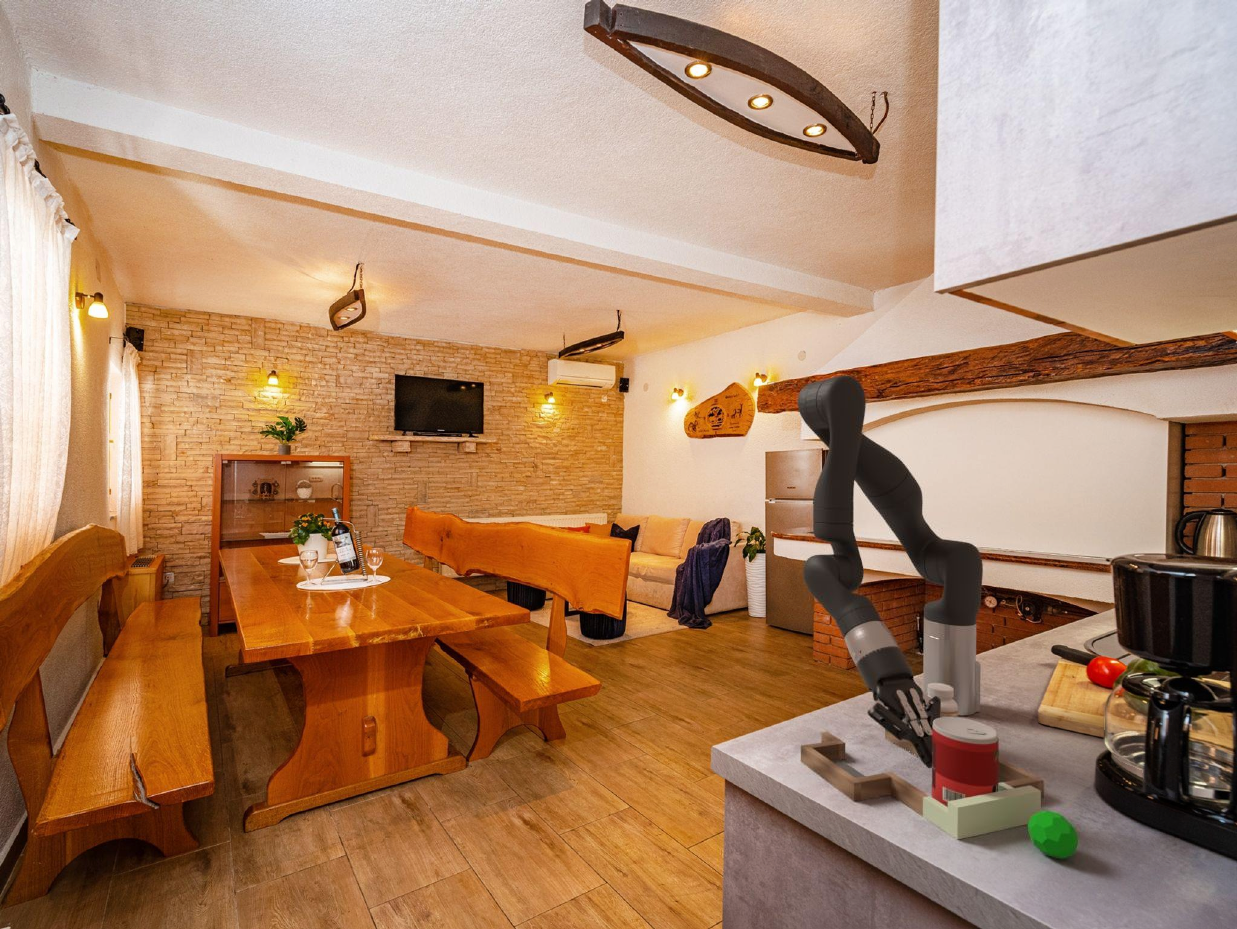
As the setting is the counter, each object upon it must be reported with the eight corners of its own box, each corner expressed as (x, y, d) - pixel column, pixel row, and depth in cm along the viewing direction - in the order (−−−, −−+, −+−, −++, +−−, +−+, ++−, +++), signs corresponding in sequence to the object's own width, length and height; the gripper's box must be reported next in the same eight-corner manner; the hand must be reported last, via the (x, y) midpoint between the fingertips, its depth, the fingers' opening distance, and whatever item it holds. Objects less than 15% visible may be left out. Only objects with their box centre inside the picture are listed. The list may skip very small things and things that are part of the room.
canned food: (1009, 825, 80) (1009, 741, 80) (944, 820, 81) (945, 736, 81) (981, 795, 88) (982, 718, 88) (923, 790, 89) (924, 714, 89)
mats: (813, 764, 96) (813, 762, 96) (934, 745, 104) (934, 743, 104) (891, 821, 81) (891, 819, 81) (1027, 794, 88) (1027, 792, 88)
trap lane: (788, 752, 100) (788, 737, 100) (919, 733, 109) (919, 719, 109) (891, 829, 79) (891, 809, 79) (1043, 797, 87) (1043, 780, 88)
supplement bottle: (924, 734, 109) (924, 679, 109) (958, 741, 106) (959, 685, 106) (920, 745, 104) (921, 687, 104) (956, 753, 101) (957, 694, 101)
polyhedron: (1068, 872, 71) (1069, 830, 71) (1021, 850, 75) (1021, 811, 75) (1084, 857, 74) (1084, 817, 74) (1037, 837, 78) (1038, 799, 78)
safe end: (922, 816, 82) (923, 786, 82) (1002, 800, 87) (1003, 771, 87) (957, 839, 77) (957, 807, 77) (1040, 821, 81) (1040, 790, 81)
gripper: (855, 647, 96) (914, 761, 84) (922, 641, 100) (987, 749, 88) (832, 670, 101) (885, 781, 89) (897, 664, 105) (955, 769, 93)
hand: (936, 765), depth 89 cm, fingers closed
